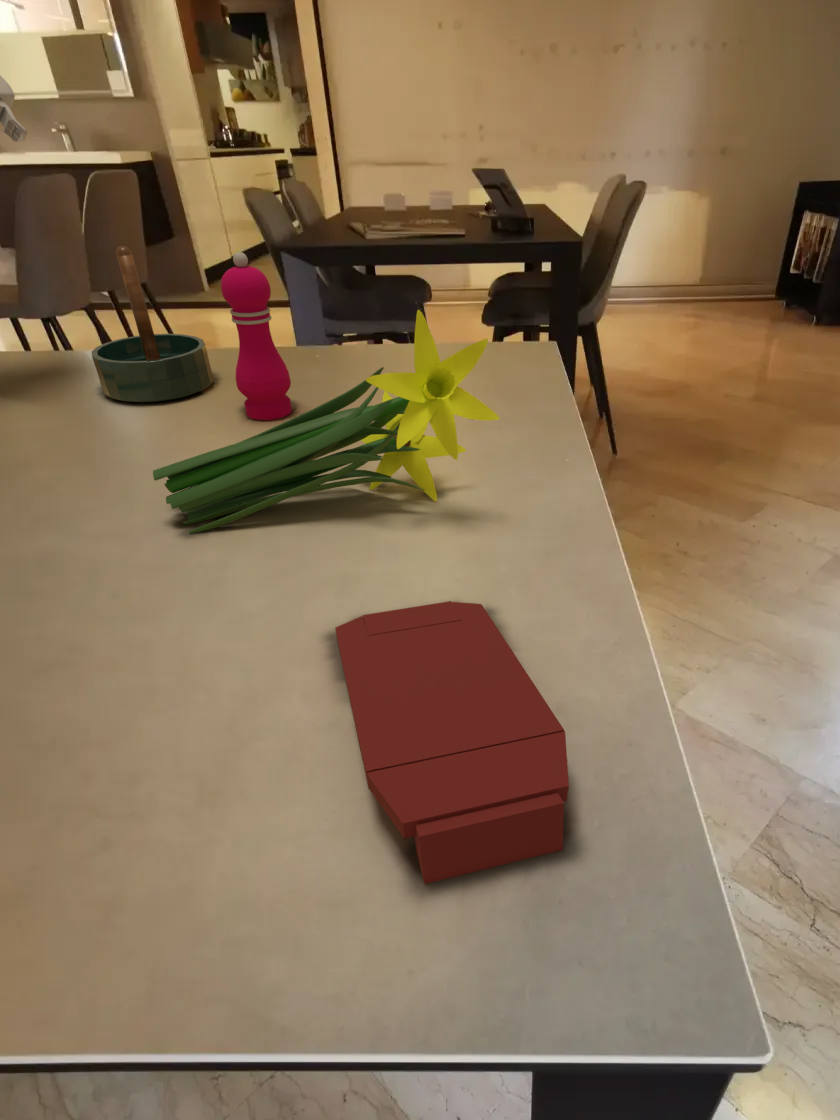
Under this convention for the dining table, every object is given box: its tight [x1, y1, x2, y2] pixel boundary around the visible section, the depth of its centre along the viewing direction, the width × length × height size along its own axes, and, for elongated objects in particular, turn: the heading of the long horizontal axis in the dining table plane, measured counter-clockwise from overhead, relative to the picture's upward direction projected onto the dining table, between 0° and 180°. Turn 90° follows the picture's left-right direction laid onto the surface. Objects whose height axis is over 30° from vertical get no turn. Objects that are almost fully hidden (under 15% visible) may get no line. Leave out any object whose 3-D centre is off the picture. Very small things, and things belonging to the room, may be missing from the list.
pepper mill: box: [220, 251, 293, 421], centre depth 92 cm, size 7×7×20 cm
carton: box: [334, 600, 570, 885], centre depth 49 cm, size 12×5×25 cm
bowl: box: [91, 333, 214, 403], centre depth 105 cm, size 16×16×6 cm
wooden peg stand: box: [115, 245, 161, 361], centre depth 101 cm, size 6×6×18 cm
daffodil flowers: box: [152, 309, 501, 535], centre depth 71 cm, size 17×15×35 cm
